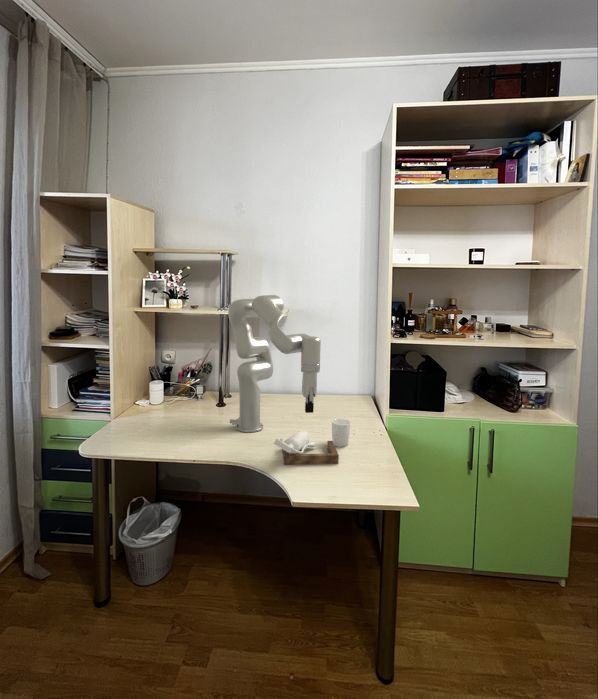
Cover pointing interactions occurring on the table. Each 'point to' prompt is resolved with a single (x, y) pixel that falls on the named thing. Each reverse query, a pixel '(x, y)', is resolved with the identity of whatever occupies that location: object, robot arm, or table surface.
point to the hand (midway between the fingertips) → (309, 411)
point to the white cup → (340, 432)
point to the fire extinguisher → (295, 443)
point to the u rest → (312, 457)
